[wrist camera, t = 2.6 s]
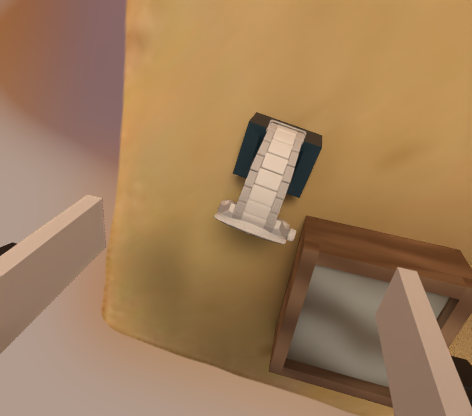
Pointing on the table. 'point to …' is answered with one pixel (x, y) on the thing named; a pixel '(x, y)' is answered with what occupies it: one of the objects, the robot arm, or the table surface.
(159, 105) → the table surface
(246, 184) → the watch
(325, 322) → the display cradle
